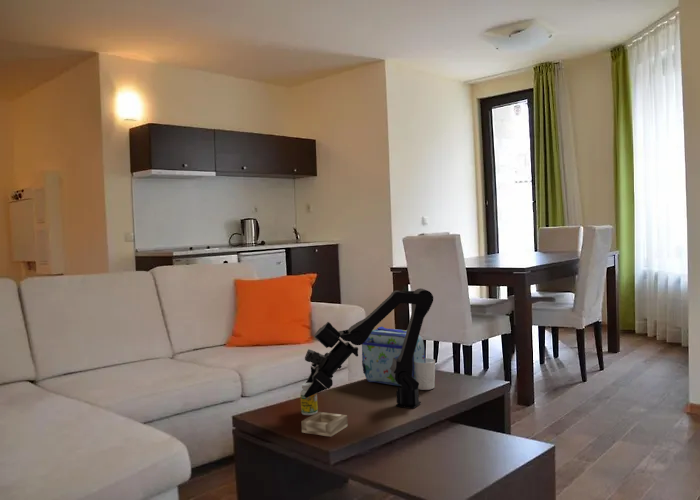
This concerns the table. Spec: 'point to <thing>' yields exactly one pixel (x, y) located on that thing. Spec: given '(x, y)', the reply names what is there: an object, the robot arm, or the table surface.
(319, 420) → the holder
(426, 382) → the white cup
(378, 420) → the table surface
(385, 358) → the lunch box
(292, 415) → the table surface
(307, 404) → the supplement bottle
